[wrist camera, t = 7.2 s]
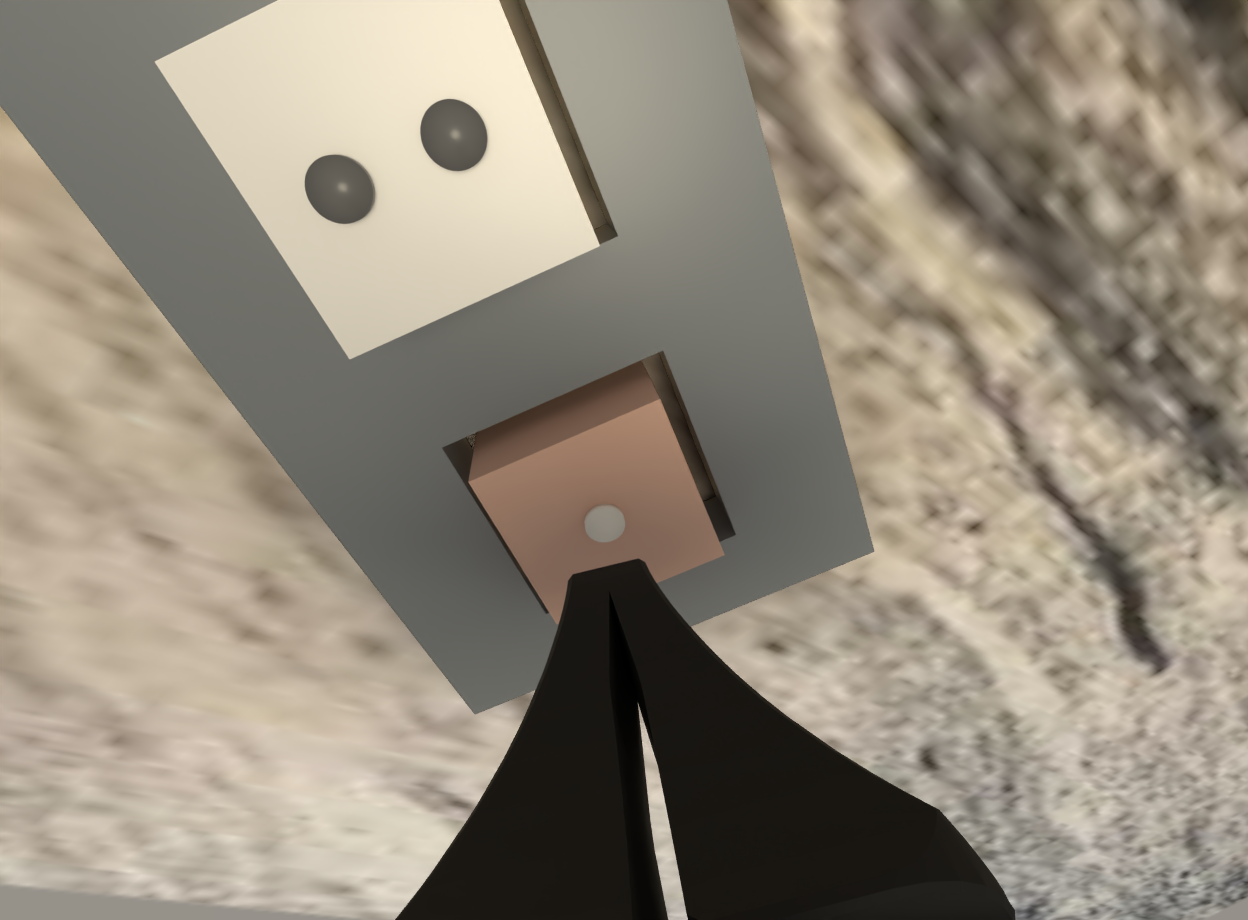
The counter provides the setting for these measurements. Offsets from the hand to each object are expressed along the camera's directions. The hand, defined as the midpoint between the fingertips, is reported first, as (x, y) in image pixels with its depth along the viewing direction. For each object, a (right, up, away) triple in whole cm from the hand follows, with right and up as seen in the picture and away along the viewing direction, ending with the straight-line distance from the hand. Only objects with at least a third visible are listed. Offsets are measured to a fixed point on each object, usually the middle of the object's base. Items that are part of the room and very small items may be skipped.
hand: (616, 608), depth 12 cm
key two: (-4, +8, 0) cm, 9 cm away
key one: (-1, +3, +5) cm, 6 cm away
